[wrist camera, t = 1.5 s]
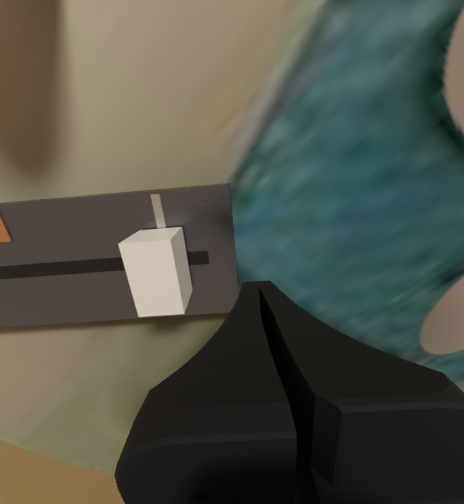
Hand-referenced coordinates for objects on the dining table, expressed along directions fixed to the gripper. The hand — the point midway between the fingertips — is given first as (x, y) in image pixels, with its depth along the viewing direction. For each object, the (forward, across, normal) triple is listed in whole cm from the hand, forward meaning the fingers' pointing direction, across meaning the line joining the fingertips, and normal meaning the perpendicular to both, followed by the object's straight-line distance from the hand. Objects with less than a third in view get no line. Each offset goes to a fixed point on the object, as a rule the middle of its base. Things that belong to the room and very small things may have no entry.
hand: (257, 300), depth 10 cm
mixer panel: (+8, +13, 0) cm, 15 cm away
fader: (+6, +6, 0) cm, 8 cm away
